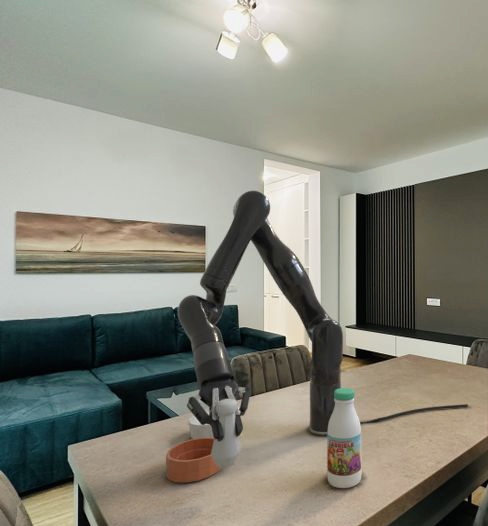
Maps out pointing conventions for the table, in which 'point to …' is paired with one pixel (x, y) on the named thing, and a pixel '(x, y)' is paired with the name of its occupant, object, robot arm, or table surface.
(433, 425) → the table surface
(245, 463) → the table surface
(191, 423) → the ramekin
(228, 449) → the salt shaker
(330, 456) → the milk bottle
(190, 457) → the bowl
